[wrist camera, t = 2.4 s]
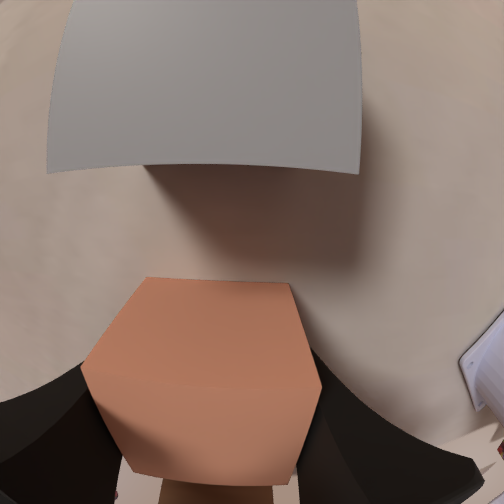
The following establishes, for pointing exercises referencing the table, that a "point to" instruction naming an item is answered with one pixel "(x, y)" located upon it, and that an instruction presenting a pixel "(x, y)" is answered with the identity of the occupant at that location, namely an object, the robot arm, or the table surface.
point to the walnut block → (213, 493)
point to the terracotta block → (207, 381)
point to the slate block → (208, 84)
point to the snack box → (501, 449)
